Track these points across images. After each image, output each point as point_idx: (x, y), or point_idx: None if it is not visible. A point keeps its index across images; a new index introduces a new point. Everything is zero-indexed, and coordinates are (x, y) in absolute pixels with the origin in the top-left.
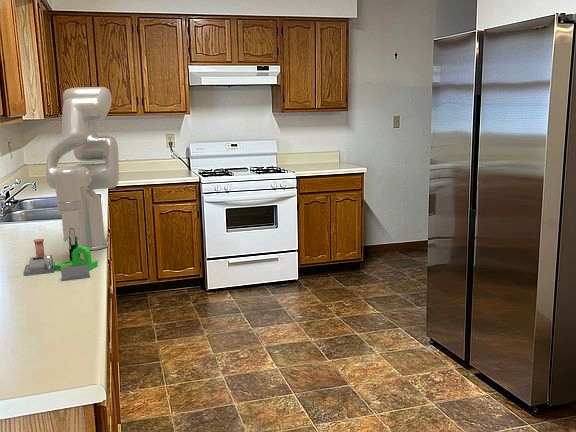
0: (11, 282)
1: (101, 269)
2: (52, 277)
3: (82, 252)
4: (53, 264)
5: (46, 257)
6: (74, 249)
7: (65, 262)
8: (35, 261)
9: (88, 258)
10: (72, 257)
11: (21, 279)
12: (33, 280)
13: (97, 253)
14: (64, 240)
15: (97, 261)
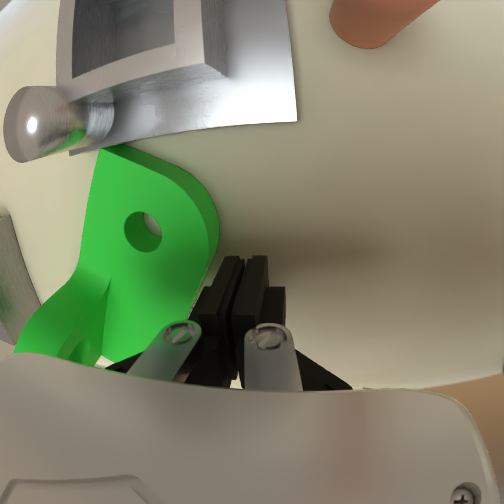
0: (19, 9)
1: (110, 363)
2: (19, 166)
3: None
4: (184, 121)
5: (5, 124)
6: (16, 351)
7: (159, 223)
8: (63, 23)
9: None
10: (47, 303)
11: (35, 24)
12: (6, 91)
13: (452, 366)
14: (5, 358)
15: None
